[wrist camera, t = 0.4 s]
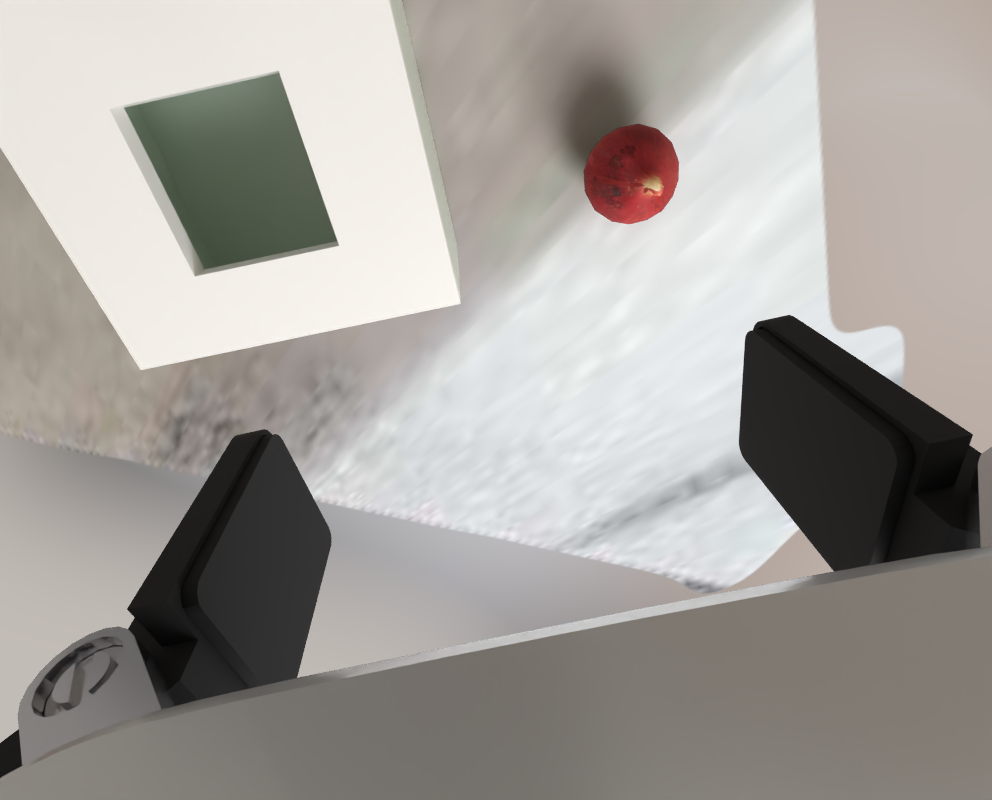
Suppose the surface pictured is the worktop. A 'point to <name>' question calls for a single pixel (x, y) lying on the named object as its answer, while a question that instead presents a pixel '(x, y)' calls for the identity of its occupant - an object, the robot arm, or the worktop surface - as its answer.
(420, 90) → the caddy
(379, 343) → the worktop surface
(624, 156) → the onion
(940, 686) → the robot arm
